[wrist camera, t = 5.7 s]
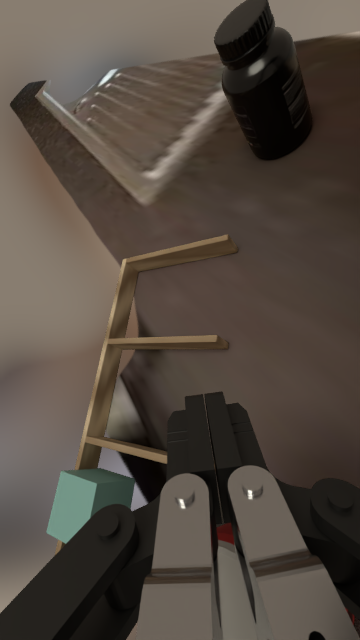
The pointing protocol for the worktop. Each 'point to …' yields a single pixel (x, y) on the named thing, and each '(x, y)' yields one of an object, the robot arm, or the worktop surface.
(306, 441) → the worktop surface
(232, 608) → the canned food
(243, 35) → the supplement bottle
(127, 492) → the plain green block
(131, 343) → the bay rack
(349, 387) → the worktop surface
